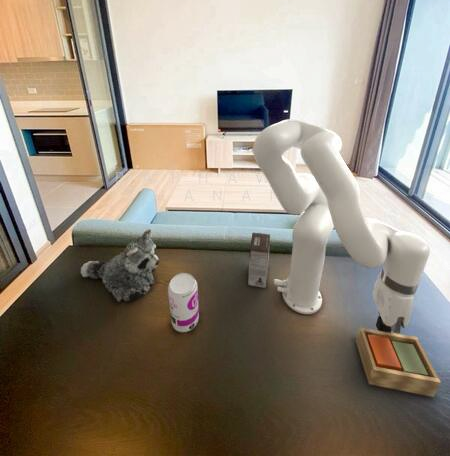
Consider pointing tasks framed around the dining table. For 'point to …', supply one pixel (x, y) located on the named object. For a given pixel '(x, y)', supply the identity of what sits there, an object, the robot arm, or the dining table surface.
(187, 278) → the supplement can
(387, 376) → the snack tray
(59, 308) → the dining table surface
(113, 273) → the raccoon plush
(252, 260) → the coffee box
